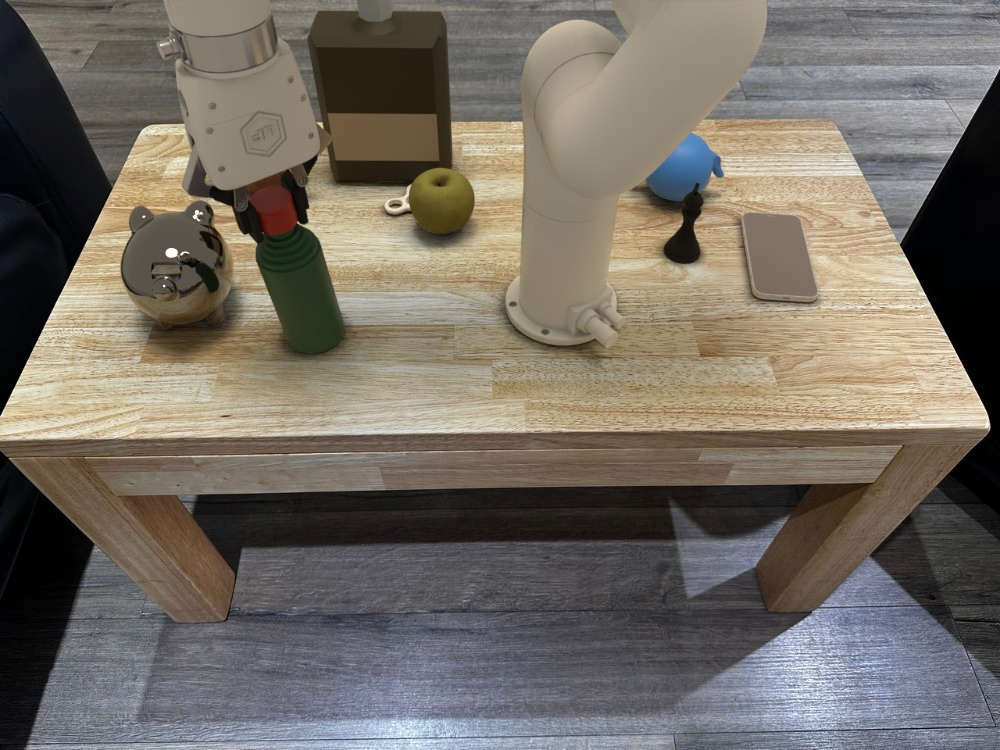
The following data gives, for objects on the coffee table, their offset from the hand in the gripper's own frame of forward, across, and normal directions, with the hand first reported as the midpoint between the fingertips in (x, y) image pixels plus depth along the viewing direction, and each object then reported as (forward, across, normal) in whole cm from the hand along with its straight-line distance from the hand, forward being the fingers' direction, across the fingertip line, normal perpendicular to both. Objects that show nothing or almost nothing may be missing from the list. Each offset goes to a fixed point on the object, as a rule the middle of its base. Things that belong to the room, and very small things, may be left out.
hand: (276, 224), depth 75 cm
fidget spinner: (+15, +22, +12) cm, 29 cm away
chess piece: (+15, +43, -15) cm, 48 cm away
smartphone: (+15, +52, -23) cm, 58 cm away
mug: (+15, +10, +26) cm, 32 cm away
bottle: (+15, +24, +21) cm, 36 cm away
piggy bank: (+15, -8, +12) cm, 21 cm away
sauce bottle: (+15, +1, 0) cm, 15 cm away
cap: (-3, 0, 0) cm, 3 cm away
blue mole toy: (+15, +52, -5) cm, 55 cm away
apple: (+15, +23, +7) cm, 28 cm away
